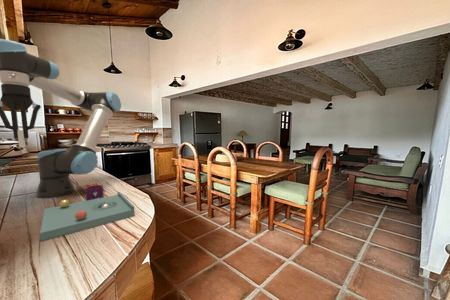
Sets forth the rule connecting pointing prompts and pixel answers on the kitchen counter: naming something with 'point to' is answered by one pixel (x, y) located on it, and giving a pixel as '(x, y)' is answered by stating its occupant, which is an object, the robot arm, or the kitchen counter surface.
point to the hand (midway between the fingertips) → (22, 147)
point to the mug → (94, 192)
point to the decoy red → (81, 214)
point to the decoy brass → (64, 203)
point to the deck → (67, 223)
